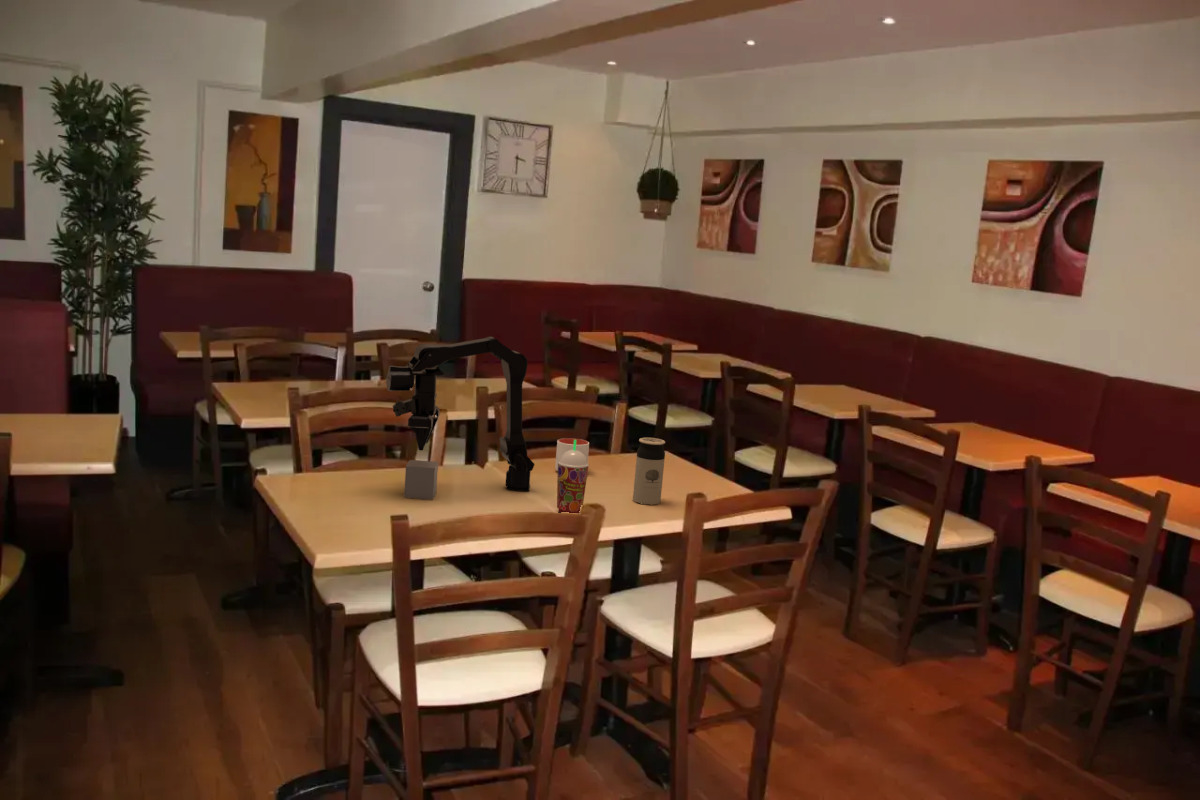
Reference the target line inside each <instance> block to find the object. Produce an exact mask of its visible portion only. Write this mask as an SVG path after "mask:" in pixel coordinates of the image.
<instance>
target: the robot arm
mask: <svg viewBox="0 0 1200 800" xmlns="http://www.w3.org/2000/svg"><path fill="white" fill-rule="evenodd" d="M486 353H490V354H492V355H493V356H494V357H495V358H496V359H498V360H499V361H501V368H502V372H503V376H504V379H505V382H506V431H505V434H504V436H500V437H499V444H500V445H499V446H500V447H499V452H501V454H502V455H501V456H502V457H503V458H504V459H505V460H506V463H507V464H508V465H509V466H508V469H507V470H506V473H505V487H506V490H507V491H508V490H509V491H518V492H519V491H520V492H521V491H522V492H529V491H530V490H531V489H530V488H531V484H530V483H531V471H533V470H534V467H535V463H534V462H533V460H532V459H531V458H530V457H529V456H528V450H527V443H526V441H525V438H524V437H525V436H524V434H523V385H524V384H523V383H524V380H525V378H526V375H527V370H528V365H529V364H528V358H527V357H526V356H525V355H524V354H522V353H520V352H518V351H516V350H511V349H510V348H509V347H508V346H506V345H505V344H503V343H502V342H500V340H499V339H497V338H495V337H493V336H487V337H484V338H479V339H478V338H477V339H473V340H467V341H461V342H457V343H456V342H455V343H449V344H437V343H436V344H435V343H427V344H426V343H424V344H419V345H418V346H416V348H415V349H414V353H413V356H412V358H411V359H410V360H409V362H407V364H406V366H396V365H389V366H388V371H387V375H386V378H385V379H386V390H387V391H388V392H409V391H410V390H411V389H413V388H414V394H413V395H412V397H411V398H409V399H405V400H402V399H401V400H400V401H396V402H395V403H394V404H393V405H392V408H393V409H392V412H393V413H394V414H395V417H396V418H397V417H401V416H402V415H405V414H408V413H410V414H411V415H410V417H408V419H407V426H408V428H409V429H411V430H412V431H413V432H414V434H415V438H416V442H417V448H418V451H423V450H424V449H425V446H426V444H428V443H429V441H430V438H431V436H432V434H433V431H434V429H435V426H436V425H437V422H438V420H439V416H440V414H441V413H440V412H441V411H440V408H439V406H438V405H436V399H437V396H438V393H437V376H444V375H445V372H443V370H441V368H440V367H439V366H440V365H442V364H444V363H446V362H448V361H451V360H453V359H458V358H459V359H460V358H465V357H471V356H476V355H482V354H486Z"/></svg>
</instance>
